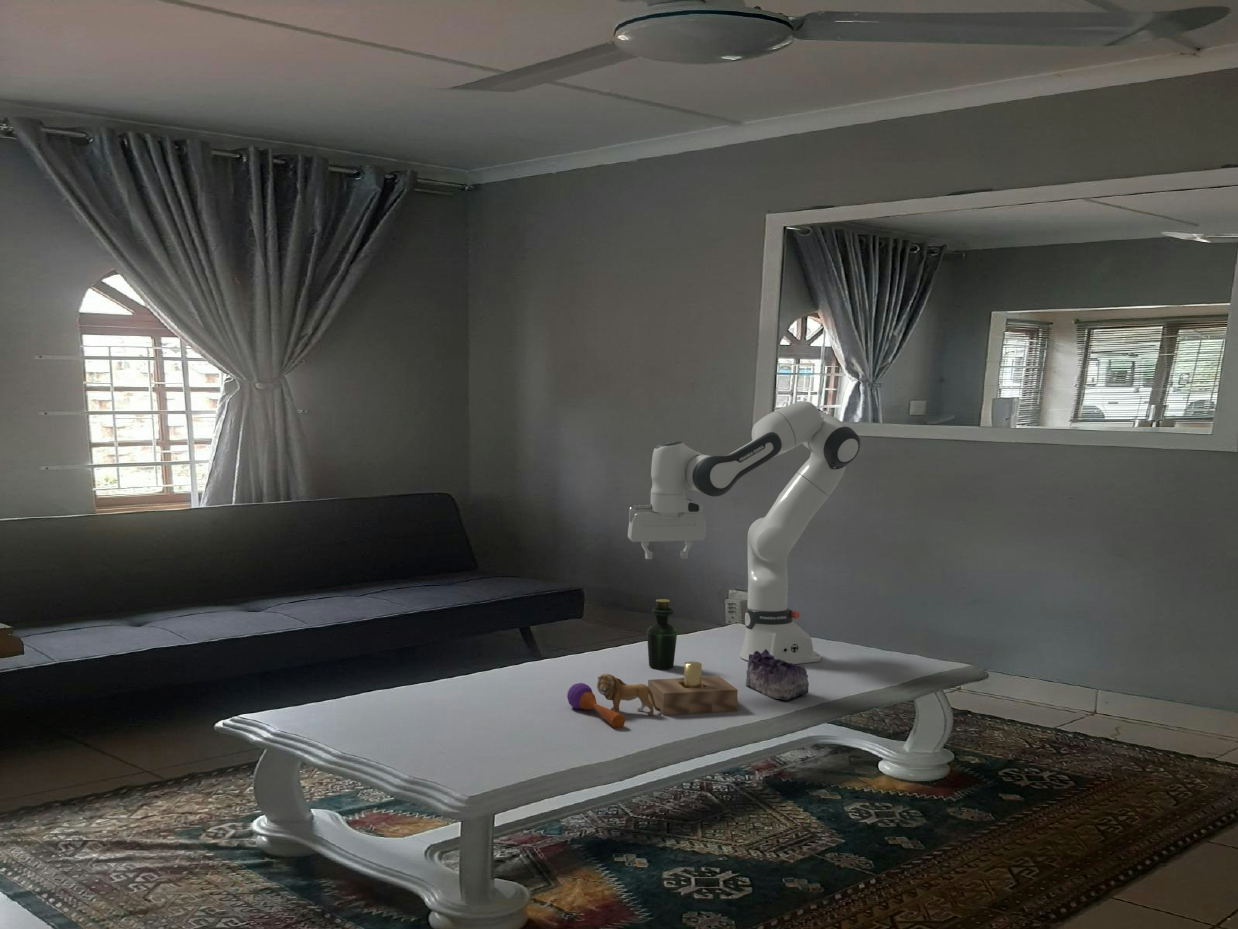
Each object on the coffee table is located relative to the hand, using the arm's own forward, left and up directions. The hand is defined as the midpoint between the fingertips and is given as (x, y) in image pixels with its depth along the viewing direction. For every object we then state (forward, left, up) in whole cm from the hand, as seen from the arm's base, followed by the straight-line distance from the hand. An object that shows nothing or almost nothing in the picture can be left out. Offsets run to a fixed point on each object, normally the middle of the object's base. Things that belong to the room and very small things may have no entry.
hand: (666, 558), depth 275 cm
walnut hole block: (+1, +25, -31) cm, 40 cm away
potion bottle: (-3, -11, -31) cm, 33 cm away
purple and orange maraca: (+25, +28, -32) cm, 49 cm away
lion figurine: (+18, +28, -31) cm, 45 cm away
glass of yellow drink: (+1, +25, -31) cm, 40 cm away
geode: (-23, +16, -32) cm, 42 cm away
